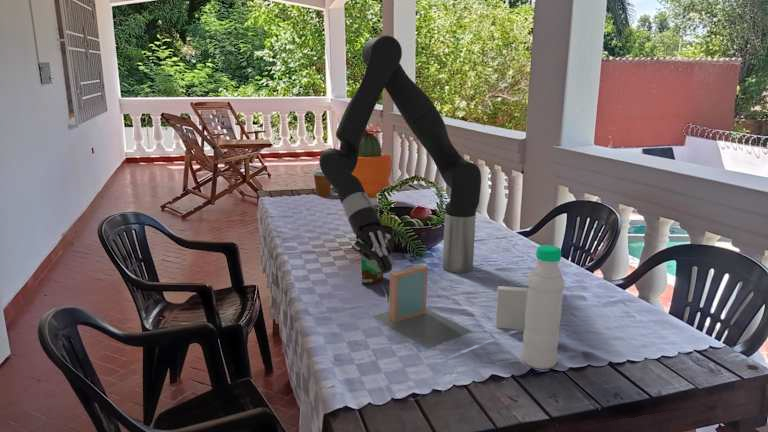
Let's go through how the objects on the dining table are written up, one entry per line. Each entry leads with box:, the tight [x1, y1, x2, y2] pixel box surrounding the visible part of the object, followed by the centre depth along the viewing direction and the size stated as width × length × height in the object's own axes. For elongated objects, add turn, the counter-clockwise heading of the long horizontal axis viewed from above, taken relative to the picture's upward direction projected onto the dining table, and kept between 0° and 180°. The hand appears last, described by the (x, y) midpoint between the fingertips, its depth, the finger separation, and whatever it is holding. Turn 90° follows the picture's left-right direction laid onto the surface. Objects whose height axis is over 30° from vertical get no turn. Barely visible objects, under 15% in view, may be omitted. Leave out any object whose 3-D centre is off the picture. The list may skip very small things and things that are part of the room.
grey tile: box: [494, 285, 529, 332], centre depth 131 cm, size 2×8×10 cm, turn 83°
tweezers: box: [380, 283, 390, 303], centre depth 153 cm, size 18×5×2 cm, turn 14°
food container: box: [360, 254, 385, 286], centre depth 160 cm, size 12×6×10 cm, turn 168°
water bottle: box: [521, 244, 565, 370], centre depth 114 cm, size 7×7×25 cm
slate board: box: [372, 307, 473, 349], centre depth 133 cm, size 20×14×1 cm
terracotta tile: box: [388, 264, 428, 323], centre depth 135 cm, size 2×10×12 cm, turn 127°
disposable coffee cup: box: [312, 168, 332, 197], centre depth 269 cm, size 10×10×12 cm
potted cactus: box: [352, 123, 393, 206], centre depth 252 cm, size 22×22×35 cm
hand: (388, 271), depth 140 cm, fingers closed
